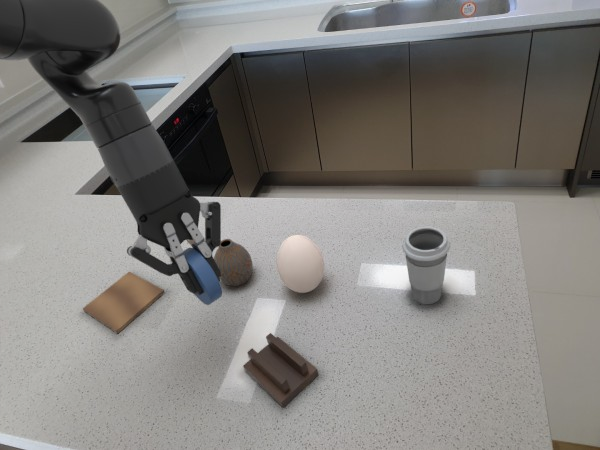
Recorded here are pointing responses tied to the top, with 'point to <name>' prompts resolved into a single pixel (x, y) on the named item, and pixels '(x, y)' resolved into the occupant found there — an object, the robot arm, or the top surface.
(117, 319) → the plate
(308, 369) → the rack
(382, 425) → the top surface
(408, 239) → the cup
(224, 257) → the vase
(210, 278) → the disc
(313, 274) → the egg
